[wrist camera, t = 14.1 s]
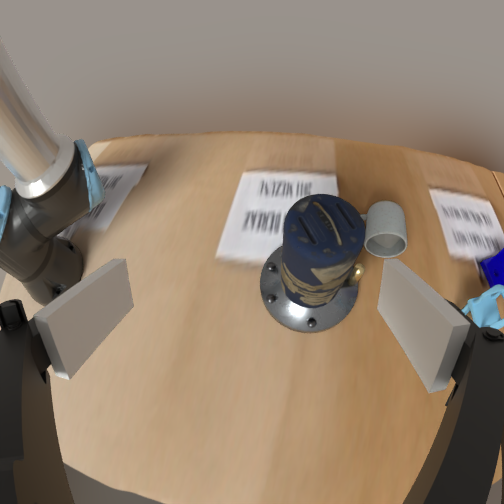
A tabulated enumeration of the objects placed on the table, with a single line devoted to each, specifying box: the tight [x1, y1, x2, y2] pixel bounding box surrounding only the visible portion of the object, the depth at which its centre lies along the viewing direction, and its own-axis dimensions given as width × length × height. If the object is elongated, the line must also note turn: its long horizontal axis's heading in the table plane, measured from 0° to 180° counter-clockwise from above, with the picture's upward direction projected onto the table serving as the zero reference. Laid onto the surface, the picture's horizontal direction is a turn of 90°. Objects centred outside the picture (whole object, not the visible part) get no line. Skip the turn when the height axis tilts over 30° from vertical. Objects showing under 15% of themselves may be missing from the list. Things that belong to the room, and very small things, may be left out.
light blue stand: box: [461, 284, 504, 329], centre depth 36 cm, size 8×8×12 cm
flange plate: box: [260, 246, 365, 333], centre depth 44 cm, size 16×16×6 cm
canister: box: [281, 194, 365, 308], centre depth 38 cm, size 10×10×18 cm
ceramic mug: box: [360, 200, 407, 258], centre depth 48 cm, size 11×8×8 cm
